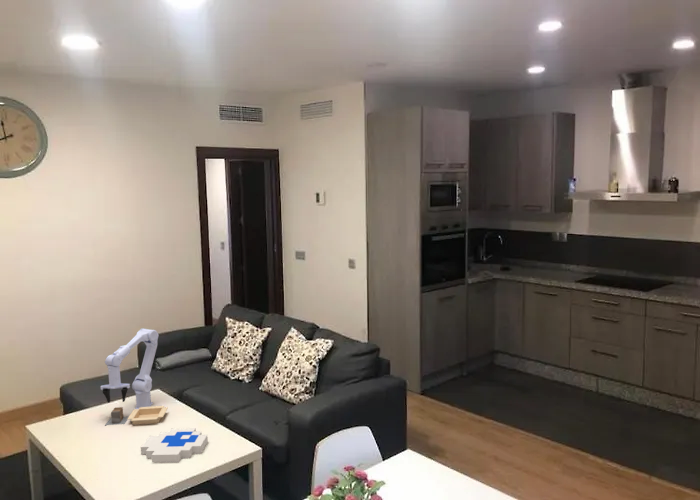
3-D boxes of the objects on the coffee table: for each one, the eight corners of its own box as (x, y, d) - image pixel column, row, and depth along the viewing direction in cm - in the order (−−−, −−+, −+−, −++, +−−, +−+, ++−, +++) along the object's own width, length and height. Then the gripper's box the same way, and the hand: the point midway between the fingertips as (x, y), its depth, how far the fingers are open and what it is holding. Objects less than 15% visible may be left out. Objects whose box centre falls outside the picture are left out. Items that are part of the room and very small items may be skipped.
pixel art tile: (155, 428, 291) (211, 427, 290) (156, 436, 291) (212, 435, 291) (133, 455, 263) (195, 454, 262) (134, 463, 264) (196, 462, 263)
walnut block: (115, 418, 313) (114, 407, 312) (123, 417, 314) (122, 407, 313) (111, 423, 306) (110, 412, 306) (119, 423, 307) (118, 412, 306)
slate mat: (110, 418, 315) (110, 417, 314) (129, 416, 315) (129, 416, 315) (104, 425, 305) (104, 425, 305) (124, 424, 306) (124, 423, 306)
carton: (135, 413, 320) (135, 407, 319) (169, 411, 321) (168, 405, 321) (126, 427, 302) (125, 420, 301) (162, 425, 304) (161, 418, 303)
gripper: (98, 380, 306) (100, 405, 308) (126, 378, 308) (128, 403, 310) (102, 376, 313) (104, 400, 315) (130, 374, 315) (132, 398, 316)
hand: (116, 401), depth 313 cm, fingers open, 7 cm apart
